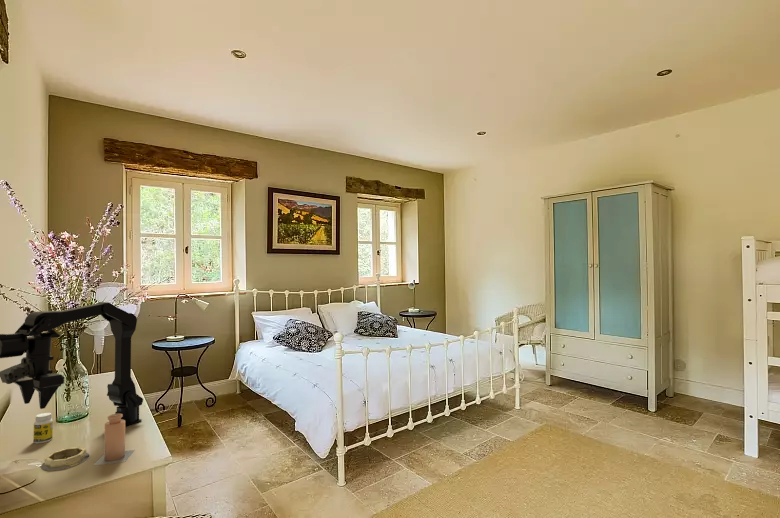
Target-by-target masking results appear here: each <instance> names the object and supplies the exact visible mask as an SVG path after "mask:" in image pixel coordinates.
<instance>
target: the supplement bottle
mask: <svg viewBox="0 0 780 518" xmlns="http://www.w3.org/2000/svg"><path fill="white" fill-rule="evenodd" d="M52 417H53V415H52V413H51V412H44V413H38V414H37V415H35V417H34V418H35V421H34V422H33V440H32V441H33V443H34V444H38V445H39V444H44V443H45V444H46V443H48V442H50V441H51V440H52V439H53V438H54V437H53V434H54V432H53V429H54V427H53V426H54V419H52Z"/></svg>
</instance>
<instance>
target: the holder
mask: <svg viewBox="0 0 780 518" xmlns="http://www.w3.org/2000/svg"><path fill="white" fill-rule="evenodd" d="M90 457H91V455H90V453H88V452H87V449H86V448H85V447H84V448H83V447H81V446H78V447H77V446H74V447H67V448H63V449H60V450H57V451H54V452H51V453H49V455H47V456H46V457H45V458H44V462H43V463H42V464H41V465H42V466H41V465H40V470H42V471H48V472H49V471H51V472H52V471H59V470H64V469H65V470H66V469H68V468H72V467H75V466H78V465H80V464H82V463H84V462H86V461H88V459H89V458H90Z"/></svg>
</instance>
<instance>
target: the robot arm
mask: <svg viewBox="0 0 780 518" xmlns="http://www.w3.org/2000/svg"><path fill="white" fill-rule="evenodd" d="M96 316H101V317H102V318H103V319H104V320H106V321H107V322H109V327H110V330H111V333H112V335H113V337H114V380H113V381H112V383H107V386H106V387H107V394H106V396H107V397H108V399H109V401H111V402H112V403H113V406H114V407H116V411H115V413H114V414H123V417H122V418H121V419H122V420H125V427H126V426H132V425H133V424H137V423H139V422H142V419H141V418H140V406H142V405H143V402H144V398H143V397H142V396H140V395H139V394H138V393H137V389H136V384H135V383H134V381H133V378H132V377H131V373H132V337H133V335H134V333H135V331H136V329H137V323H138V318H137V316H136V315H135V314H134V313H131V312H127V311H125V310H123V309H121V308H119V307H117V306H115V305H114V304H112V303H111V302H109V301H108V302H106V301H105V302H104V301H100V302H98V303H97V302H96V303H93V304H89V305H87V304H86V305H84V306H79V307H74V308H67V309H64V310H46V311H45V310H44V311H33V312H30V313H28V315H27V316H26V317H25V318H24V322H23V323H22V324H21V325H20V326H19V327H18V328H17V330H15V332H14V333H7V334H6V333H0V359H7V358H15V357H21V356H23V355H24V354H25V357H22V358H21V359H20V363H18V364H15V365H12V366H10V367H8V368H5V369H2V370H0V380H1V382H2V384H3V383H4V384H7V385H10V384H15V385H17V386H18V387H19V390H20V394H21V396H22V401H23V402H24V404H25V405H26V404H30V402H31V400H32V398H33V396H34V393H35V391H37V392H38V403H39V408H40V410H43V409H46V408H47V405H48V404H49V402H50V400H52V398H53V396H54V394H55V393H56V392H57V390H58V388H59V387H62V385H63V384H65V376H64V375H62V374H59V373H57V372H56V373H53V369H51V368H50V367H51V361H53V360H54V356H53V355H51V354H52V352H51V351H52V339H56V338H61V334H59V333H58V332H56V330H55V329H57V328H59V327H61V326H63V325H64V324H65V325H66V324H67V323H70V322H75V321H80V320H83V319H84V320H85V319H88V318H93V317H96Z"/></svg>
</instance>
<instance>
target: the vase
mask: <svg viewBox="0 0 780 518" xmlns="http://www.w3.org/2000/svg"><path fill="white" fill-rule="evenodd" d="M122 417H123V414H115V413H114V414H110V415H108V416H107V420H108V421H107V422H105V423H104V453H103V455H104V460H105V461H115V460H119V459H121V458H123V457H124V456H125V451H126V426H125V420H122V419H121V418H122Z"/></svg>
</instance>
